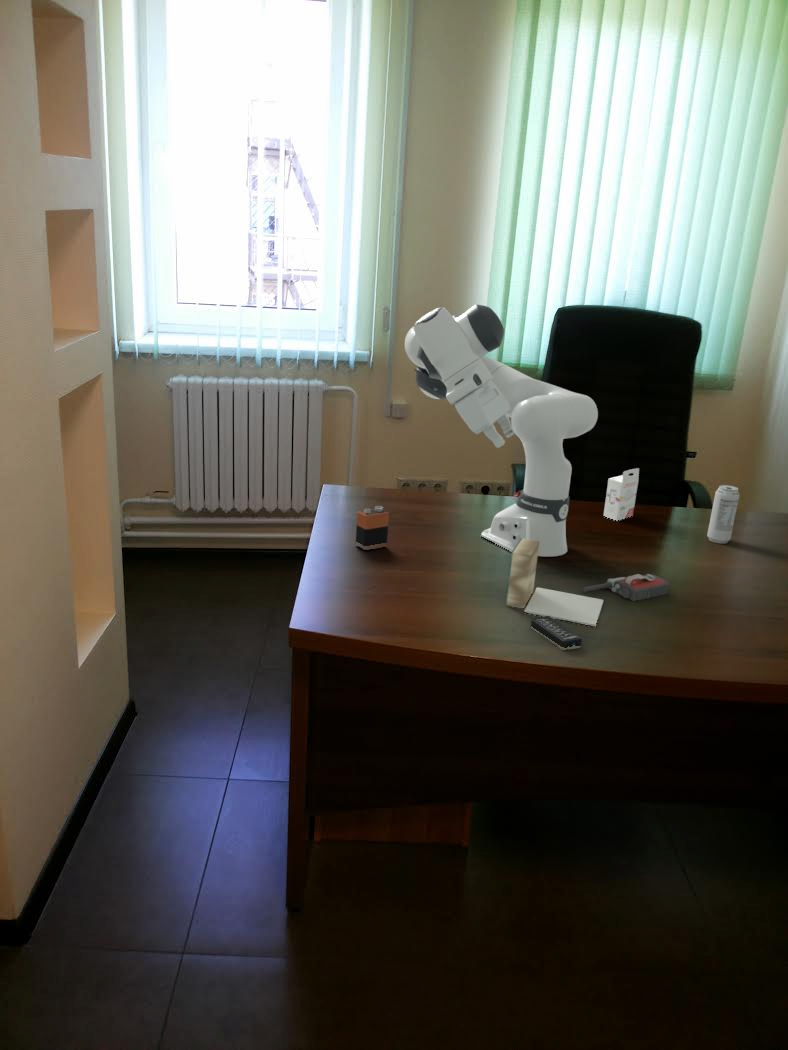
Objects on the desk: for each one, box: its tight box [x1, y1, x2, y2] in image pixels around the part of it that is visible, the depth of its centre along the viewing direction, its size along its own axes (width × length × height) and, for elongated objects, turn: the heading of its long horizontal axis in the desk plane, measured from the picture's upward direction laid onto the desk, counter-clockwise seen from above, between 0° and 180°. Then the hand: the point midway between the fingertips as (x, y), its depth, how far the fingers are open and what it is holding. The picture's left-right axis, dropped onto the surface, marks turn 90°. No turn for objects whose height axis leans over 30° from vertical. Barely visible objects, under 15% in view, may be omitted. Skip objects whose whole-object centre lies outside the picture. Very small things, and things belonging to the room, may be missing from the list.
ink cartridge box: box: [603, 467, 640, 522], centre depth 238 cm, size 9×5×15 cm, turn 132°
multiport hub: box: [530, 616, 583, 648], centre depth 161 cm, size 4×11×2 cm, turn 26°
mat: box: [523, 586, 604, 628], centre depth 175 cm, size 14×14×1 cm
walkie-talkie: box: [583, 573, 670, 602], centre depth 185 cm, size 9×4×20 cm
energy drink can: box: [706, 484, 740, 544], centre depth 223 cm, size 6×6×15 cm
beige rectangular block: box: [504, 538, 539, 609], centre depth 176 cm, size 4×10×12 cm, turn 160°
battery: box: [355, 505, 390, 546], centre depth 201 cm, size 4×7×10 cm, turn 126°
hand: (506, 440), depth 167 cm, fingers open, 8 cm apart
